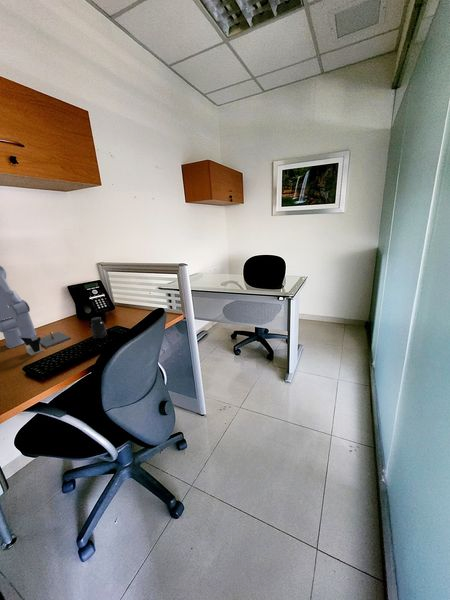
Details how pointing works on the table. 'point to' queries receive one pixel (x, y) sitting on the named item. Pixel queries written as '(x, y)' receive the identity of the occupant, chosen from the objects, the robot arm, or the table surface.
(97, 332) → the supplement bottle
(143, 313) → the table surface
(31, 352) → the collar
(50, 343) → the junction plate
